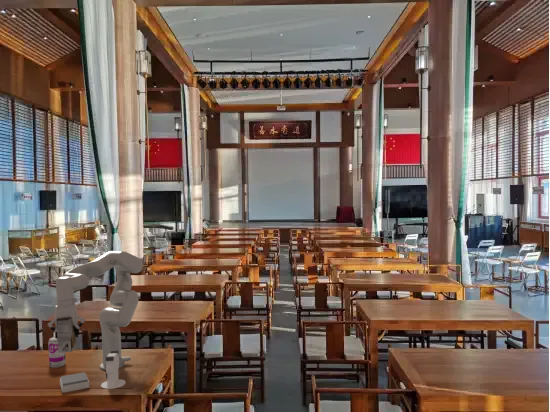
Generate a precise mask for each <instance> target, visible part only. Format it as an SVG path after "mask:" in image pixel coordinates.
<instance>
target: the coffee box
mask: <svg viewBox="0 0 550 412" xmlns="http://www.w3.org/2000/svg"><path fill="white" fill-rule="evenodd" d="M57 337H58V352H59V353H60V352H65V353H72V352H73V351H74V350H75V349H76V347H78V337H76V327H75V325H73V322H72V317H70V318H61V319H57Z"/></svg>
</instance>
